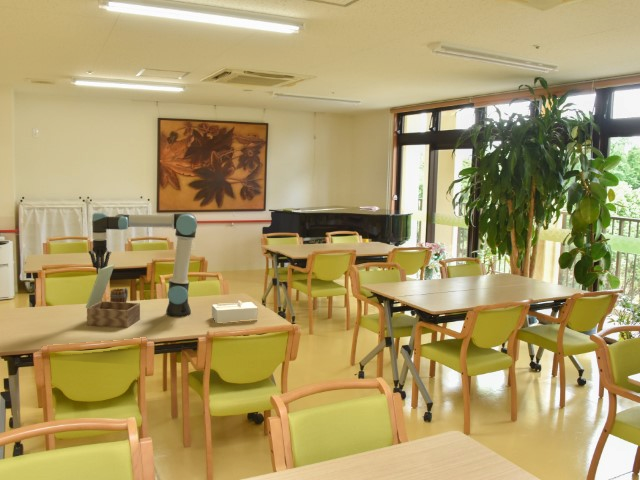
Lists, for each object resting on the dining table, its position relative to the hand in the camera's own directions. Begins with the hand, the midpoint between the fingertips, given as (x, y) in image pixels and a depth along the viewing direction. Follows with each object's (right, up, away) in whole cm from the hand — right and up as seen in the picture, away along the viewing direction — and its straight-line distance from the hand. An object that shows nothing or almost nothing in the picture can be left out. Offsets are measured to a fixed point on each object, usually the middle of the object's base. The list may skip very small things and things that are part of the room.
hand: (100, 279), depth 342 cm
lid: (0, -4, +1) cm, 4 cm away
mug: (+3, -23, +25) cm, 34 cm away
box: (+7, -25, +3) cm, 27 cm away
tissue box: (+76, -26, +18) cm, 82 cm away
